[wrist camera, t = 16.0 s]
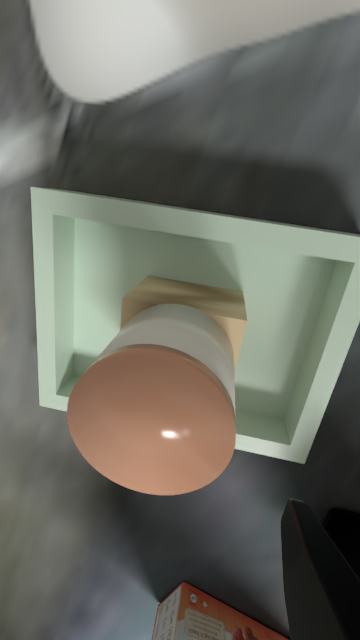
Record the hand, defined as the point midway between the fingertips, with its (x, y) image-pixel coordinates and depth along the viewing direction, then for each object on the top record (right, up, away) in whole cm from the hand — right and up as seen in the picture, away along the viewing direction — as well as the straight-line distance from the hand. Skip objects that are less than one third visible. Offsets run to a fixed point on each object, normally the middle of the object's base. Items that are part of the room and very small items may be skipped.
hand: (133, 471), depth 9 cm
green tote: (+2, +5, +12) cm, 13 cm away
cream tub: (+1, +2, +6) cm, 7 cm away
